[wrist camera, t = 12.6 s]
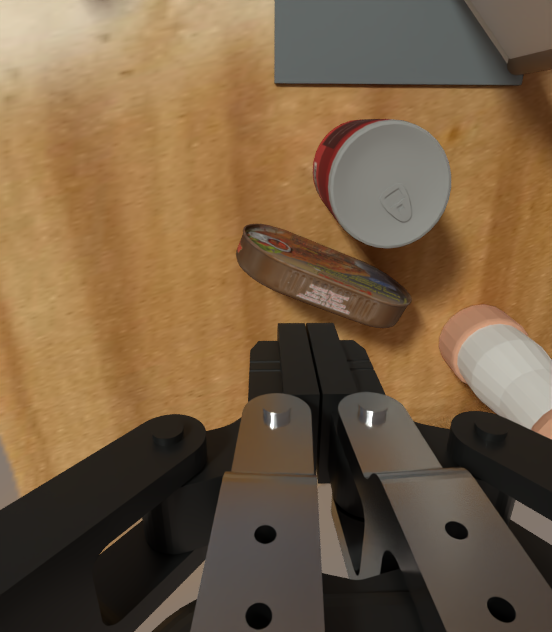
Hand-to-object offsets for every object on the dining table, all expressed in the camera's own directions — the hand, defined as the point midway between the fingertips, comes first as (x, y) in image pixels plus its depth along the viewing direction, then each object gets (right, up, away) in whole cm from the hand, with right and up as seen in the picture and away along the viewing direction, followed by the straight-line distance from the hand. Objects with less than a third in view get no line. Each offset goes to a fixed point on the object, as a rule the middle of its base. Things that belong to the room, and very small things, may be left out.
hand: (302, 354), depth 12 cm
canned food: (+6, +13, +26) cm, 30 cm away
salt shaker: (+19, -1, +33) cm, 38 cm away
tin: (+3, +6, +29) cm, 30 cm away
